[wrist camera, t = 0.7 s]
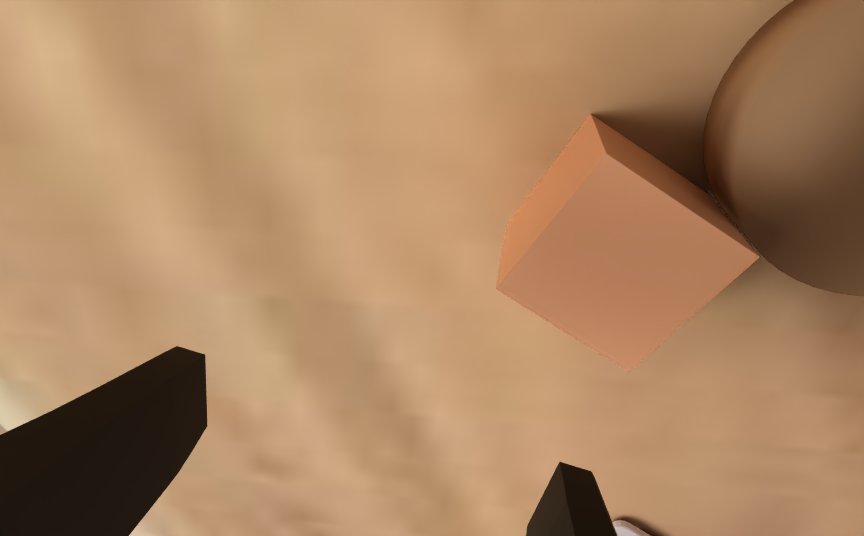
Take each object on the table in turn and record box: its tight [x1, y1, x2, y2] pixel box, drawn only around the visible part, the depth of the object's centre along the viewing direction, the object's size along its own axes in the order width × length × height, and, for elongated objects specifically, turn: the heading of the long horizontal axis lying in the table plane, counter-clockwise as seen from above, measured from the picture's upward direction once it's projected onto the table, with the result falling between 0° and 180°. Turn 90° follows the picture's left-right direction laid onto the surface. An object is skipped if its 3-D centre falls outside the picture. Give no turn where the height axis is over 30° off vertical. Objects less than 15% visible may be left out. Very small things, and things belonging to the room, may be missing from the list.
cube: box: [496, 114, 759, 372], centre depth 15 cm, size 4×4×4 cm
